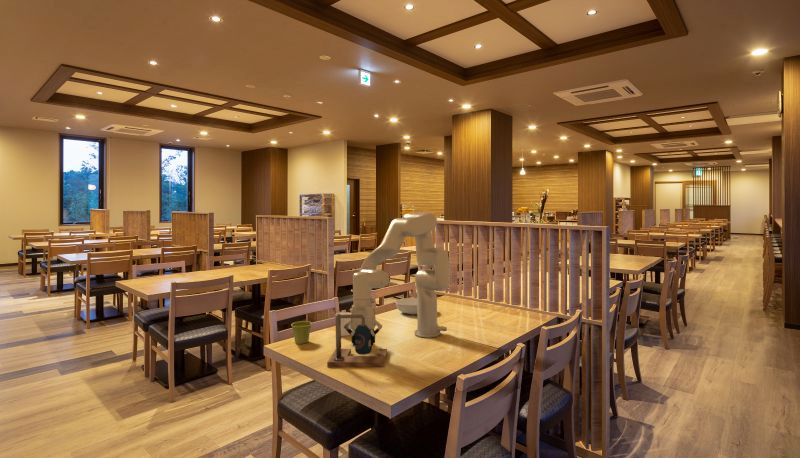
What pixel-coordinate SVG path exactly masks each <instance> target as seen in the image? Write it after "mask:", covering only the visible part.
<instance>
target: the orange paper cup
mask: <svg viewBox="0 0 800 458" xmlns="http://www.w3.org/2000/svg"><path fill="white" fill-rule="evenodd" d="M335 314H340V315H351V312H347V311H340V312H337V313H335ZM350 320H351V318H341V337H347V336H351V335H350V334H349V333H348V332H347V330H346V329H345V328H344V325H345V324H347V323H348V322H349V321H350ZM348 327H349V328H350V329H351V327H350V325H349V326H348ZM351 330H352V329H351Z"/></svg>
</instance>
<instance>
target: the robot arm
mask: <svg viewBox="0 0 800 458" xmlns="http://www.w3.org/2000/svg"><path fill="white" fill-rule="evenodd" d="M437 221H438V220H437V217H436V216H435V214H434V213H432V212H409V213H408V212H407V213H405V214H404V215H403V217H397V218H393V220H392V221H391V222H390V224H389V226H388V228H387V231H386V233H385V234H384V237H383V239H382V240H381V242H380V244H379V246H378V247H376V248H375V249H373V251H372V252H370V254H368V255H367V257H366V258H365V259H364V260H363V263H362V265H361V266H360V268H359V270H358V271H356V272H354V273H353V274H352V293H353V294H352V296H353V297H352V301H353V304H352V305H351V310H350V313H351V315H363V317H365V325H367V327H368V328H369V330H370V331H371V334H372V336H371V346H372V347H374V345H375V344H376V335H377V334H378V333H379V332H380V331H381V330H382V328H383V325H382V324H381V322H379V321H378V320H377V319H376V310H375V305H374V304H373V303H376V299H374V298H372V290H373V289H383V288H384V287H386V286H387V285H388V284H389V282H390V276H389V274H388V273H387V272H386V271H384V270H382V269H381V270H380V269H377V267H378V266H379V265H380V264H381V263H383V262H384V261H386V260H389V259H392V258H393V257H395V256H397V255H398V254H399V251H400V250H401V247H402V246H403V242H404V240H406V239H405V238H414V242H415V255H416V256H415V257H416V262H417V265H419V266H420V267H424V268H422V269H419V270H418V271H417V272H416V273H415V274H414V284H415V288H416V298H417V314H416V316H417V329H416V330H414V333H413V334H414V336H416V337H420V338H424V339H425V338H428V339H429V338H436V337H439V336H440V335H441V332H447V330H448V328H447V326H444V325H439V324H438V297H437V296H438V295H437V294H436V293H437V292H445V291H446V290H447V289H449V286H450V283H451V274H450V260H449V254H448V252H447V251H446V249H444V248H442V247H435V245H434V239H433V235H432V231H434V229H435V228H436V227H437ZM429 268H431V269H429ZM432 268H433V269H432ZM349 325H350V327H351V329H350V328H349V327H348V326H349ZM358 325H359V326H365V325H362V319H361V318H351V320H350V321H349V322H348V323H347V324H345V325H344V328H345V329H346V330H347V332H348V333H349V334H350V335H349V336H351V344H352V343H353V346H355V329H356V328H357V327H358ZM376 326H377V328H376V329H375V327H376Z"/></svg>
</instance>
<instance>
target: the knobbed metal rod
mask: <svg viewBox="0 0 800 458" xmlns="http://www.w3.org/2000/svg"><path fill="white" fill-rule="evenodd" d="M341 318H361V319H362V325H365V317H363V315H340V314H336V313H335V314H334V319H335V320H334V321H335V349H336V357H334V361H342V360H344V357H342V356H341V349H342V336H341Z"/></svg>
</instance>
